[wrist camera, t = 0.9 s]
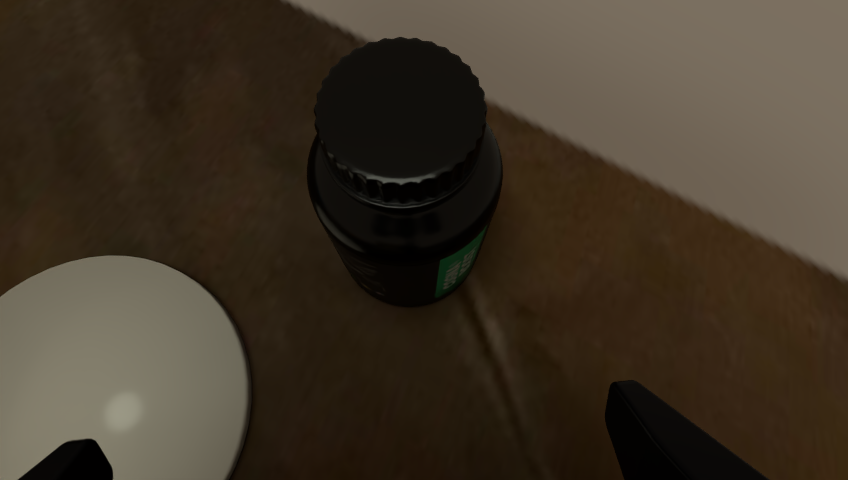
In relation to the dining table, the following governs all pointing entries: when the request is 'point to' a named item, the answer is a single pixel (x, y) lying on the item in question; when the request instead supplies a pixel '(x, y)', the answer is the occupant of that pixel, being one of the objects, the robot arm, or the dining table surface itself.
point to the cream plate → (122, 371)
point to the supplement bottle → (404, 169)
